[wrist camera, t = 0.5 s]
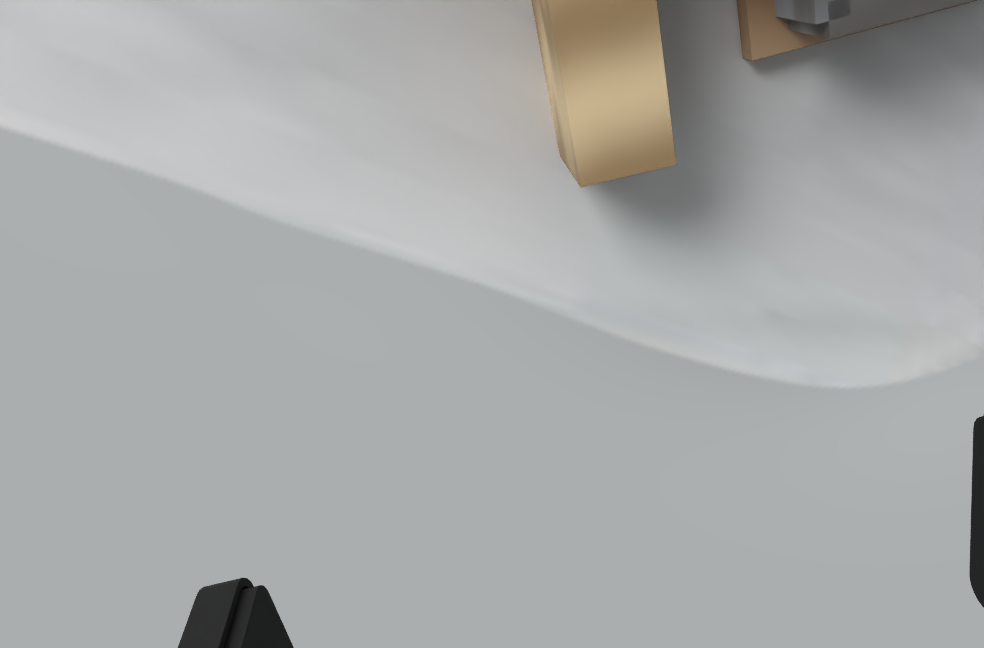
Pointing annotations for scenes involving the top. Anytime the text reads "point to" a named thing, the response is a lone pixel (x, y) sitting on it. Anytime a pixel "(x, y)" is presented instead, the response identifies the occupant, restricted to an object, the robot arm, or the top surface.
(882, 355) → the top surface
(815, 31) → the rail
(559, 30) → the beige rectangular block
